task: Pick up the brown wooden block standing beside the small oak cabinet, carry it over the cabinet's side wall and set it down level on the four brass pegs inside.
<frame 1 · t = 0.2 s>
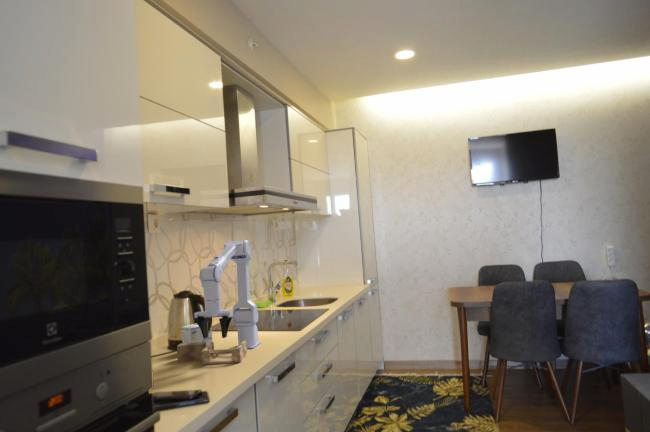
hand: (215, 337, 170), 10 cm above the countertop, tool pointing down, fingers open, 7 cm apart
light bulb box: (198, 351, 195), on the countertop
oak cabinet: (225, 358, 178), on the countertop
brown wooden block: (192, 359, 181), on the countertop
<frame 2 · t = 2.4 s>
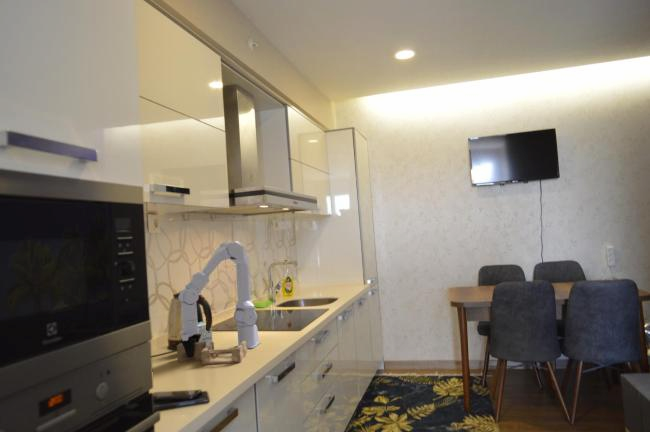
hand: (192, 355, 181), 1 cm above the countertop, tool pointing down, fingers closed on brown wooden block, 4 cm apart
brown wooden block: (192, 359, 181), on the countertop, touching gripper
everything else where it was.
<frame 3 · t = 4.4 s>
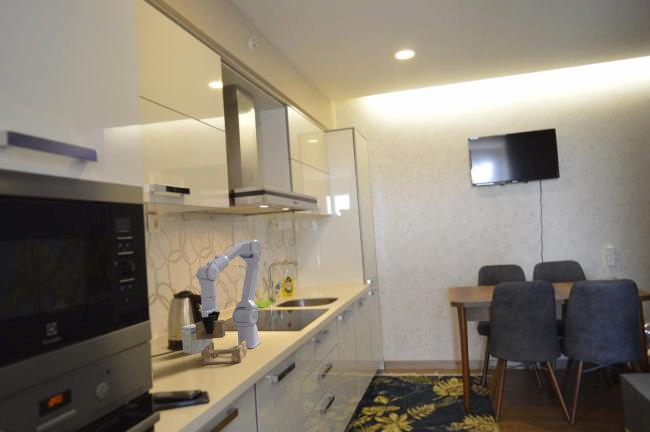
hand: (211, 332, 180), 10 cm above the countertop, tool pointing down, fingers closed on brown wooden block, 4 cm apart
brown wooden block: (211, 337, 180), point 8 cm above the countertop, touching gripper
everything else where it was.
when the fingers open (5 cm above the countertop, at t = 6.5 s): brown wooden block stays where it is, resting on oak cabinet.
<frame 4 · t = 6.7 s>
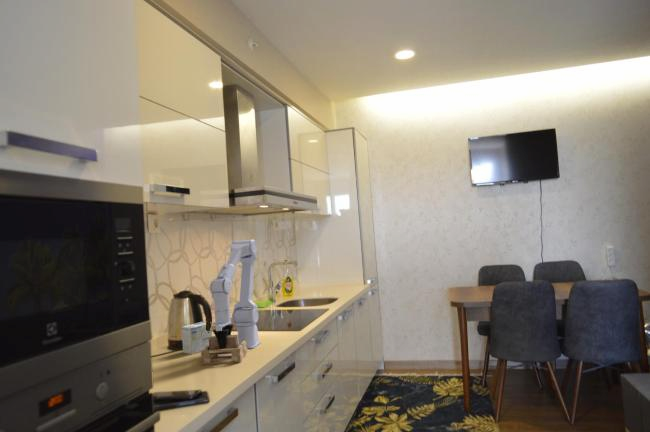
hand: (224, 346, 178), 5 cm above the countertop, tool pointing down, fingers open, 5 cm apart
brown wooden block: (224, 352, 178), point 2 cm above the countertop, touching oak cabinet
everything else where it was.
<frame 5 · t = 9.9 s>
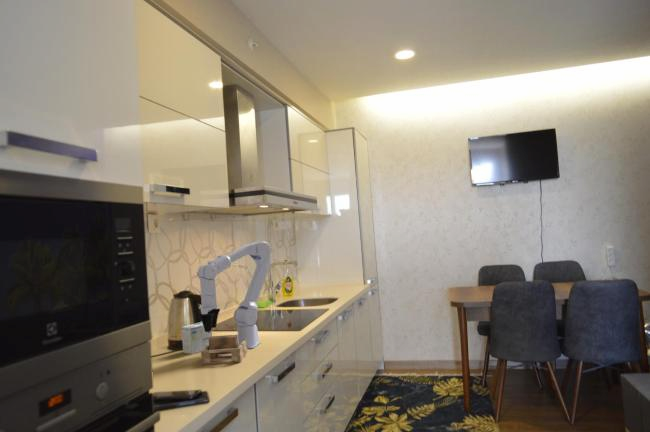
hand: (210, 329, 186), 10 cm above the countertop, tool pointing down, fingers open, 7 cm apart
nothing on the countertop moved.
at the end: brown wooden block 0.3 cm off-centre on the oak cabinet, point 2.3 cm above the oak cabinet's base; brown wooden block tilted 0°; the gripper is holding nothing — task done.
